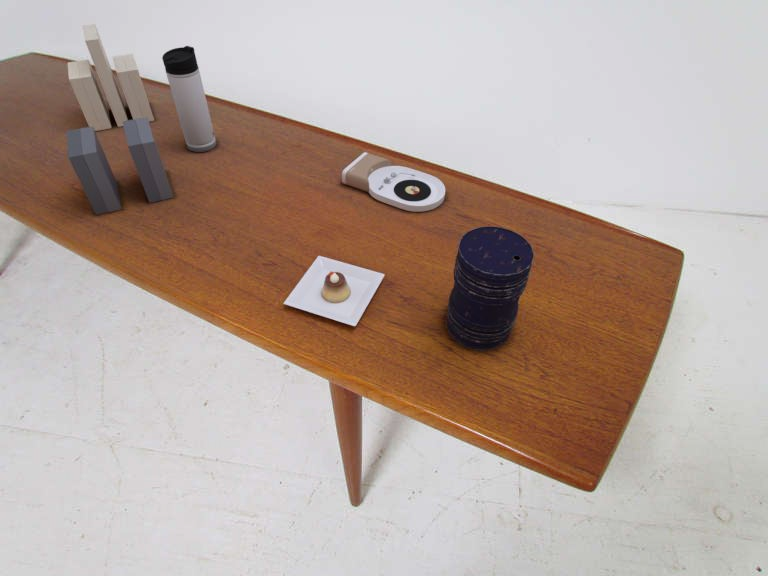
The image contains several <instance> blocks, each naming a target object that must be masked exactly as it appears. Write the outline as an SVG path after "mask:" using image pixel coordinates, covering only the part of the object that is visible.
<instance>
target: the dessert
mask: <svg viewBox="0 0 768 576" xmlns="http://www.w3.org/2000/svg"><path fill="white" fill-rule="evenodd" d="M385 276H386V274H385V273H382V272H379V271H374V270H371V269H368V268H366V267H365V268H364V267H361V266H358V265H353V264H350V263H347V262H344V261H339V260H336V259H333V258H329V257H325V256H322V255H318V256H317V257H316V258H315V260H314V261H313V263H312V264H311V265H310V267H309V268H308V269H307V270H306V272H305V273H304V275H303V276H302V277H301V279H300V280H299V281H298V282H297V284H296V286H295V287H294V288H293V290H291V291H290V294H289V295H288V296H287V298H286V299H285V300H284V302H283V305H286V306H289V307H291V308H295V309H299V310H301V311H305V312H308V313H310V314H314V315H318V316H320V317H324V318H327V319H330V320H334V321H336V322H339V323H343V324H346V325H349V326H352V327H356V326H357V324H358V323H359V321H360V319H361V318H362V316H363V315H364V312H365V311H366V309H367V307H368V305H369V304H370V302H371V300H372V298H373V297H374V295H375V293H376V291H377V290H378V288H379V286H380V284H381V283H382V281H383V279H384V278H385Z"/></svg>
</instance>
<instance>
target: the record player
mask: <svg viewBox="0 0 768 576" xmlns="http://www.w3.org/2000/svg"><path fill="white" fill-rule="evenodd" d="M341 182H342V184H344V185H347V186H349V187H353V188H355V189H358V190H361V191H363V192H366V193H369V195H370V196H371V197H372V198H373V199H375V200H376V201H378V202H381V203H384V204H386V205H390V206H392V207H395V208H397V209H401V210H404V211H408V212H412V213H413V212H415V213H416V212H417V213H418V212H419V213H421V212H427V211H432V210H434V209H437V208H438V207H440V206H441V205H442V204H443V203H444V201H445V198H446V186H445V184H444V182H443V181H441V180H440V179H439V178H438V177H436V176H435V175H431V174H429V173H426V172H423V171H421V170H417V169H413V168H411V167H407V166H402V165H393V162H392V160H390V159H388V158H385V157H382V156H378V155H376V154H372V153H369V152H366V151H364V152H362V153H361V154H360V155H359V156H358V157H357V158H356V159H355V160H353V161H352V162H351V163H350V164H349V165H347V166H346V167H345V168H344V169H343V170H342V173H341Z"/></svg>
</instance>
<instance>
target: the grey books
mask: <svg viewBox="0 0 768 576" xmlns="http://www.w3.org/2000/svg"><path fill="white" fill-rule="evenodd" d="M122 122H123V126H122V127H123V131H124V135H125V139H126V144H127V147H128V151H129V153H130V156H131V157H132V161H133V163H134V166H135V168H136V171H137V174H138V176H139V179H140V182H141V184H142V187H143V189H144V192H145V195H146V199H147V200H148V203H149V204H151V203H156V202H161V201H165V200H169V199H173V198H174V196H173V191H172V188H171V184H170V182H169V179H168V175H167V172H166V169H165V166H164V163H163V160H162V157H161V154H160V151H159V148H158V145H157V142H156V140H155V136H154V132H153V130H152V128H151V124H150V122H149V121H148V118H147V117H145V118H139V119H133V118H132V119H128V120H127V121H122ZM66 140H67V141H66V144H67V157H68V160H69V162H70V164H71V167H72V168H73V170H74V173H75V175H76V176H77V179H78V181H79V183H80V185H81V187H82V189H83V191H84V194H85V195H86V197H87V200H88V202H89V204H90V206H91V207H92V210H93V212H94V214H95V216H98V215H103V214H107V213H112V212H117V211H120V210H122V206H121V205H122V204H121V200H120V199H121V198H120V193H119V188H118V182H117V179H116V177H115V175H114V173H113V171H112V168H111V165H110V163H109V161H108V158H107V156H106V153H105V151H104V148H103V146H102V144H101V142H100V139H99V137H98V134H97V131H95V130H94V127H93V126H92V127H89V126H87V127H81V128H76V129H75V128H74V129H70V130H66Z"/></svg>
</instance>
